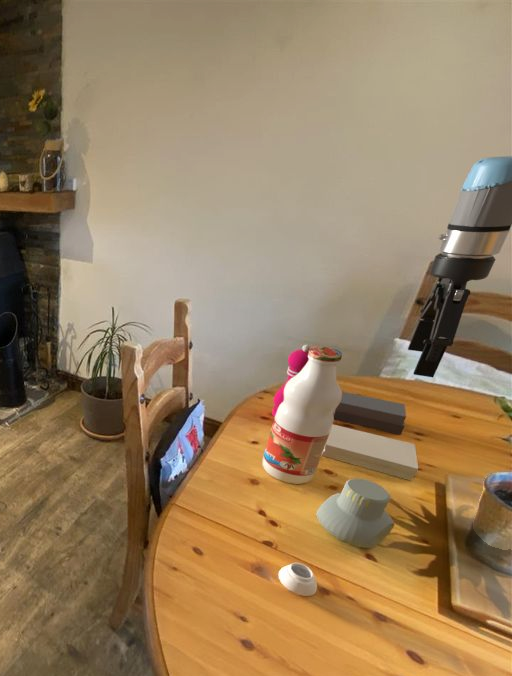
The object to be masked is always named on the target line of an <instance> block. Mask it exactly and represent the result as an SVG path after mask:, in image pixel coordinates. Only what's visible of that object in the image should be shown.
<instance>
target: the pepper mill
mask: <svg viewBox="0 0 512 676" xmlns="http://www.w3.org/2000/svg"><path fill="white" fill-rule="evenodd" d="M311 348H312V346H311V345H310V344H304V345H303V346H302V348H301V349H297V350H294V351H292V352H291V353H290V354H289V356H288V359H287V364H288V365H289V366H288V367H287V371H286V374H287V378H286V380H285V383H284V384H283V385H282V386H281V387H280V388H279V389H278V390H277V392H276V393H275V395H274V397H273V398H272V399H273V404H274V406H273V407H272V410H271V411H272V412H271V415H272V416H273V417H274V418H275V415H276V412H277V409H278V407H279V405H280V404H281V403H282V402H283V401H284V388H285V385H286V383H287V382H288V381H289V380H290V379H291V378H293V377H294V376H296V375H297V374H298V373H299V372H300V371H301V370H302V369H303V368H304V366H305V365H306V364H307V362H308V360H309V358H308V353H309V351H310V349H311Z"/></svg>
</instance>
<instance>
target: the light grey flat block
mask: <svg viewBox="0 0 512 676" xmlns="http://www.w3.org/2000/svg"><path fill="white" fill-rule="evenodd" d="M321 457H325V458H329V459H332V460H334V461H335V460H336V461H340V462H342V463H346V464H350V465H354V466H358V467H361V468H365V469H367V470H372V471H375V472H379V473H382V474H386V475H390V476H393V477H397V478H400V479H404V480H407V481H413V479H414V477H416V476H417V474H418V472H417V473H412V472H409V471H405V470H401V469H398V468H394V467H390V466H387V465H383V464H379V463H375V462H372V461H368V460H364V459H361V458H357V457H353V456H349V455H346V454H342V453H338V452H335V451H331V450H327V449H324V450H323V453H322V455H321Z"/></svg>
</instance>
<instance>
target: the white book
mask: <svg viewBox="0 0 512 676" xmlns="http://www.w3.org/2000/svg"><path fill="white" fill-rule="evenodd" d="M324 449H327V450H331V451H335V452H338V453H342V454H346V455H349V456H353V457H357V458H361V459H364V460H368V461H372V462H375V463H379V464H383V465H387V466H390V467H394V468H398V469H401V470H405V471H409V472H412V473H417V474H418V471H419V464H418V462H419V461H418V455H417V449H416V444H415V443H412V442H408V441H404V440H400V439H395V438H391V437H388V436H384V435H383V436H382V435H378V434H375V433H370V432H366V431H363V430H358V429H354V428H350V427H345V426H342V425H337V424H333V426H332V429H331V432H330V434H329V437H328V439H327V442H326V445H325V447H324Z"/></svg>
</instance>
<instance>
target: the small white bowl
mask: <svg viewBox="0 0 512 676" xmlns="http://www.w3.org/2000/svg"><path fill="white" fill-rule="evenodd" d="M278 579H279V581H280V583H281V584H282V585H283V586H284V587H285V589H287V590H289V591H290V592H292V593H293V594H296V595H298V596H303V597H310V596H313V595H315V594H316V593H317V591H318V583H317V580H316V577H315V575H314V573H313V571H312V569H311V568H310V567H308V566H307V565H305V564H304V563H301V562H292V563H290V564H288V565H287V564H286V565H285V566H283V567H281V569H280V570H279V571H278Z"/></svg>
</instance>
